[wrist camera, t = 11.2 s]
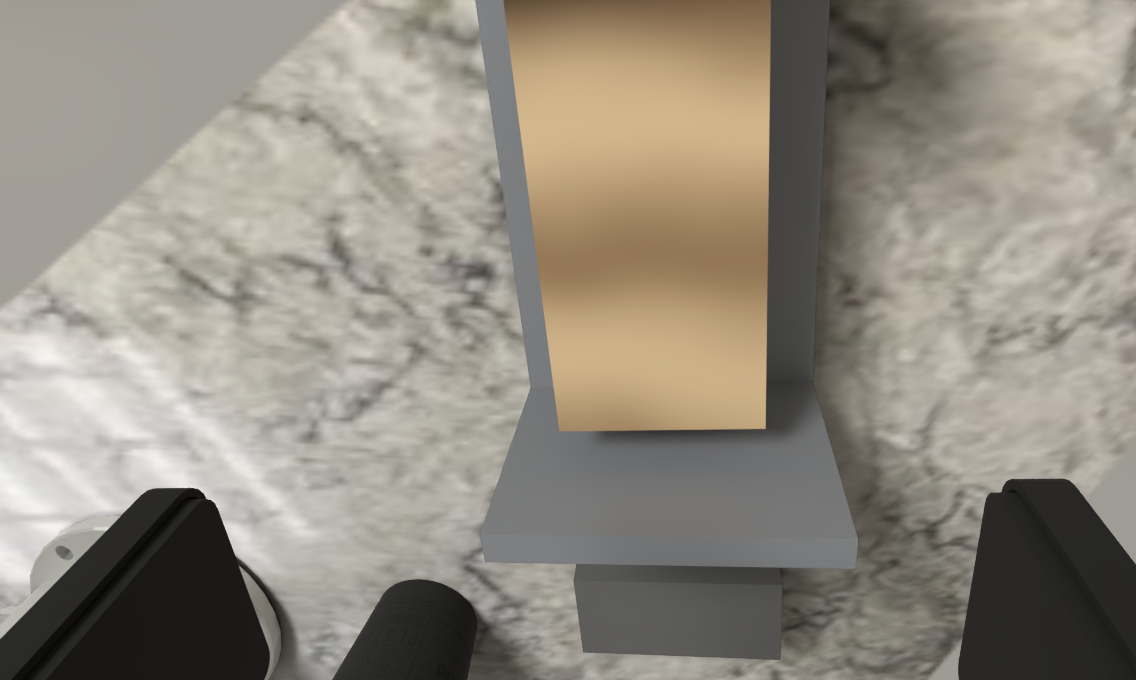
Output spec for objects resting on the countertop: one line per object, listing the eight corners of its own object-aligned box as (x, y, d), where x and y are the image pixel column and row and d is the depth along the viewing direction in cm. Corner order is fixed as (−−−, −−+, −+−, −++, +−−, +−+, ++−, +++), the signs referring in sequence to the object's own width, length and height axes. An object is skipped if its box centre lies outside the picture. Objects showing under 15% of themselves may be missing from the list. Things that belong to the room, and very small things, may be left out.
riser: (590, 598, 35) (583, 652, 32) (582, 529, 33) (573, 580, 30) (772, 603, 34) (780, 659, 31) (774, 531, 32) (782, 585, 29)
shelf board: (518, -11, 19) (502, -6, 18) (762, -38, 18) (771, -36, 17) (568, 396, 25) (559, 431, 23) (759, 392, 24) (765, 428, 22)
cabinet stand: (540, 389, 30) (485, 562, 22) (472, -110, 23) (347, -140, 14) (805, 384, 28) (856, 569, 20) (828, -157, 21) (922, -222, 13)
